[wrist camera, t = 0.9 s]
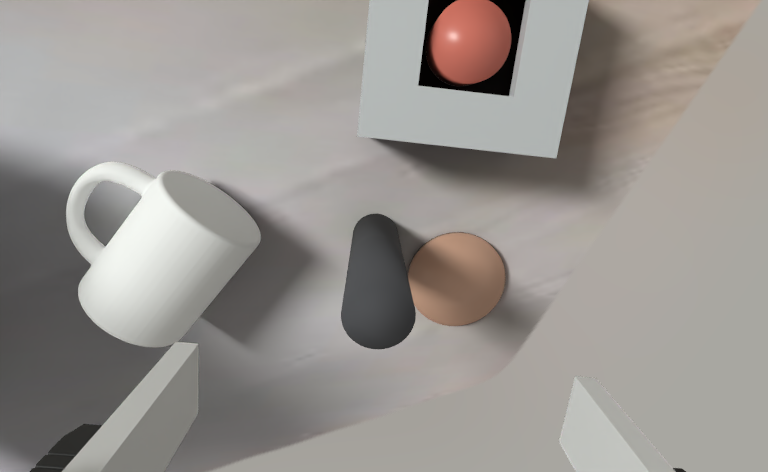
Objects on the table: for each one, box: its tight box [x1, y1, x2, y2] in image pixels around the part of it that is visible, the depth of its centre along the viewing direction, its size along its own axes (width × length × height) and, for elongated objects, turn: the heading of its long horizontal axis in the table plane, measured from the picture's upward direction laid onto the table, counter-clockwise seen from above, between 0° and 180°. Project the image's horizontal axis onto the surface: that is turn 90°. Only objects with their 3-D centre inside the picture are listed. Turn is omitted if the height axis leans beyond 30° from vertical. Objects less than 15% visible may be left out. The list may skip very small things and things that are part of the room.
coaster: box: [408, 232, 505, 326], centre depth 37 cm, size 8×8×1 cm
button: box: [425, 0, 511, 86], centre depth 27 cm, size 5×5×3 cm
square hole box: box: [357, 0, 589, 158], centre depth 29 cm, size 12×12×8 cm
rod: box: [341, 214, 416, 349], centre depth 29 cm, size 4×4×15 cm
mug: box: [66, 162, 261, 347], centre depth 32 cm, size 12×10×8 cm
